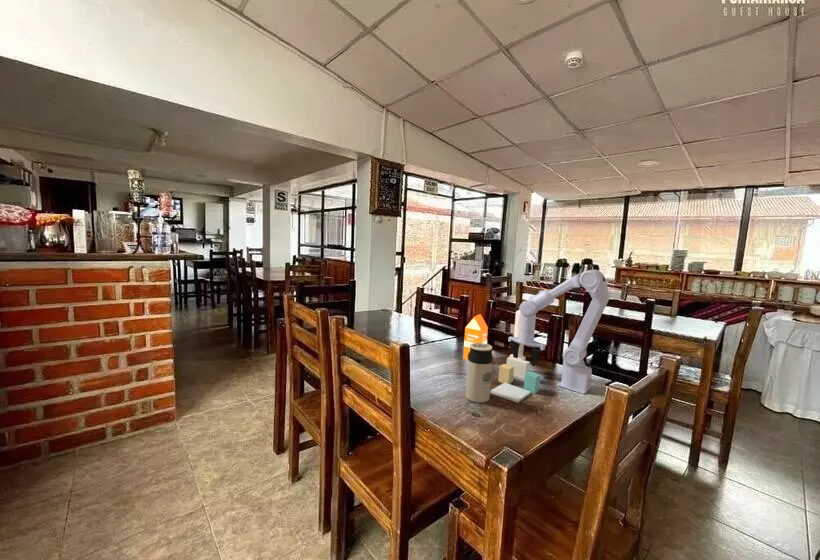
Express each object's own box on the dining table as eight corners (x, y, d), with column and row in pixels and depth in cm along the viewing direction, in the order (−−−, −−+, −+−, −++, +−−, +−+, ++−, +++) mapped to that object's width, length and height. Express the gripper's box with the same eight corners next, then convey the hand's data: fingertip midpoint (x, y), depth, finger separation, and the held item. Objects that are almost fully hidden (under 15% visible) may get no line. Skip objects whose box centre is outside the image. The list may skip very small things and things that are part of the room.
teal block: (539, 390, 117) (540, 374, 117) (534, 393, 114) (535, 377, 114) (528, 386, 120) (529, 371, 119) (523, 390, 117) (524, 374, 116)
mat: (530, 393, 114) (530, 391, 114) (517, 402, 107) (517, 400, 107) (504, 384, 121) (504, 382, 121) (490, 392, 114) (490, 390, 114)
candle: (515, 361, 147) (519, 306, 144) (506, 355, 153) (510, 303, 151) (528, 360, 149) (533, 306, 146) (519, 355, 155) (523, 303, 153)
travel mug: (461, 394, 112) (464, 343, 110) (480, 391, 115) (484, 341, 113) (473, 405, 104) (476, 350, 102) (494, 401, 107) (498, 348, 105)
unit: (532, 378, 127) (534, 361, 127) (527, 382, 124) (528, 364, 123) (508, 371, 134) (510, 354, 134) (502, 374, 131) (504, 357, 130)
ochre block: (513, 381, 124) (514, 366, 123) (508, 384, 121) (509, 369, 120) (503, 378, 127) (504, 363, 126) (498, 381, 124) (499, 366, 123)
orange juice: (486, 357, 150) (489, 315, 148) (479, 363, 143) (482, 318, 140) (470, 354, 154) (472, 312, 152) (462, 359, 147) (465, 315, 145)
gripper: (549, 332, 129) (546, 365, 130) (514, 325, 139) (512, 355, 140) (542, 335, 124) (539, 369, 125) (506, 327, 134) (504, 359, 135)
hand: (524, 362), depth 133 cm, fingers open, 7 cm apart
